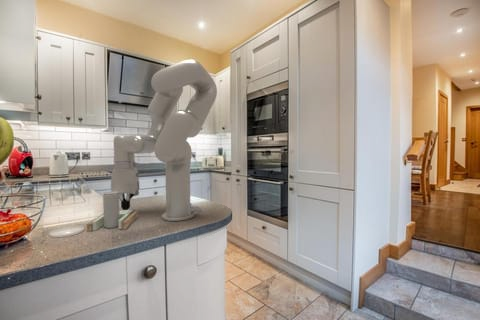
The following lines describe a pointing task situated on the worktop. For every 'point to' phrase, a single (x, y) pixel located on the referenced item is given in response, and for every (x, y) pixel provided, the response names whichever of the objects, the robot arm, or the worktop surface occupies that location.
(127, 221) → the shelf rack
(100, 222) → the sliding holder
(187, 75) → the robot arm
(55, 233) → the ceramic coaster
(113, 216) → the beverage can
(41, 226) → the worktop surface
